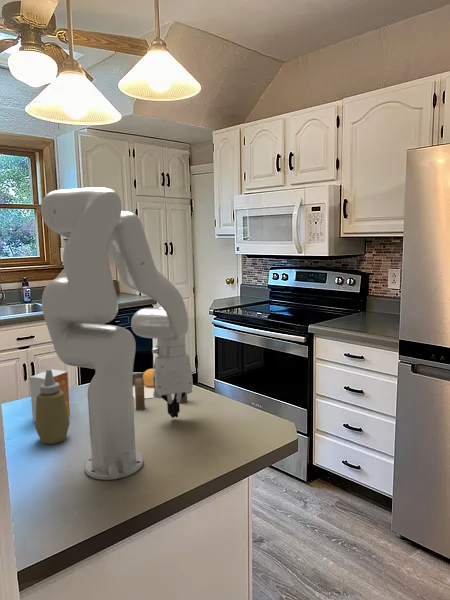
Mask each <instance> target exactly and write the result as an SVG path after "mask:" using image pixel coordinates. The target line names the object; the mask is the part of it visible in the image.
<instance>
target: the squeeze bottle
mask: <svg viewBox="0 0 450 600" xmlns="http://www.w3.org/2000/svg"><path fill="white" fill-rule="evenodd" d="M40 392H41V393H39V394H38V395H37V397H36V422H35V430H36V433H37V435H38V437H39V439H40V442H41V443H42V444H45V445H54V444H57V443H61V442H63V441H64V440H66V438H67V435H68V433H69V432H68V431H69V427H70V424H71V423H70V422H71V421H70V417H69V416H68V411H67V405H66V400H65V394H64V392H63V391H61V390H60V384H59V383H58V382H55V380H54V377H53V374H52V371H51V369H47V370H46V376H45V382H44V384H42V385H40Z"/></svg>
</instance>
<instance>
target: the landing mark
mask: <svg viewBox="0 0 450 600" xmlns="http://www.w3.org/2000/svg"><path fill="white" fill-rule="evenodd" d="M153 393H154V387H153V386H152V387H151V386H147V385H146V384H144V399H145V400H146V399H147V400H148V399H156V398H155V397H154V396H153ZM173 395H174V394H171V396H173ZM133 400H135V401H136V399H135V386H133Z"/></svg>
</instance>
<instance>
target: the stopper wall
mask: <svg viewBox="0 0 450 600" xmlns="http://www.w3.org/2000/svg"><path fill="white" fill-rule="evenodd" d="M144 372H145V371H143V372H136V373H135V372H134V373H133V386H135V379H136V378H143V374H144Z"/></svg>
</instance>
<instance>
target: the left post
mask: <svg viewBox="0 0 450 600" xmlns="http://www.w3.org/2000/svg"><path fill="white" fill-rule="evenodd" d="M144 385H145V383H144V379H143V378H136V379H135V385H134V387H135V399H136V400H135V399H134V400H135V410H136V411H143V410H145V407H146V405H145V400H146V399H144Z"/></svg>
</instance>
